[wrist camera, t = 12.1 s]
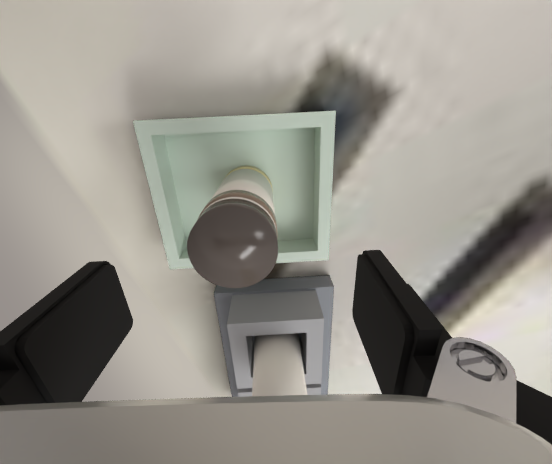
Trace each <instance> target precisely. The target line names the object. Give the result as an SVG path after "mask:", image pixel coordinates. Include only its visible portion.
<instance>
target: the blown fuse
mask: <svg viewBox="0 0 552 464" xmlns="http://www.w3.org/2000/svg"><path fill="white" fill-rule="evenodd" d="M277 238H278V232H277V223H276V218H275V210H274V199H273V189H272V184H271V181H270V179H269V177H268V176H267V175H266V174H265V173H264V172H263V171H262V170H261V169H259V168H257V167H254V166H249V165H244V166H239V167H236V168H234V169H232V170H231V171H230V172H229V173H228V174H227V175H226V177H225V178H224V180H223V181H222V183H221V184H220V186H219V188H218V189H217V191H216V192H215V194H214V195H213V197H212V198H211V200H210V201H209V202H208V203H207V205H206V206H205V207H204V209H203V210H202V212H201V213H200V215H199V217H198V220H197V221H196V223H195V225H194V226H193V228H192V229H191V231H190V234H189V237H188V241H187V251H188V256H189V259H190V262H191V264H192V265H193V267H194V269H195V270H196V271H197V272H198V273H199V274H200V275H201V276H202V277H203V278H205V279H206V280H208V281H209V282H211V283H213V284H215V285H218V286H221V287H226V288H243V287H248V286H251V285H254V284H256V283H258V282H260V281H261V280H263V279H264V278H265V277H266V276H267V275H268V274H269V273H270V272H271V271H272V269H273V268H274V266H275V264H276V261H277V257H278V241H277Z"/></svg>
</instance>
